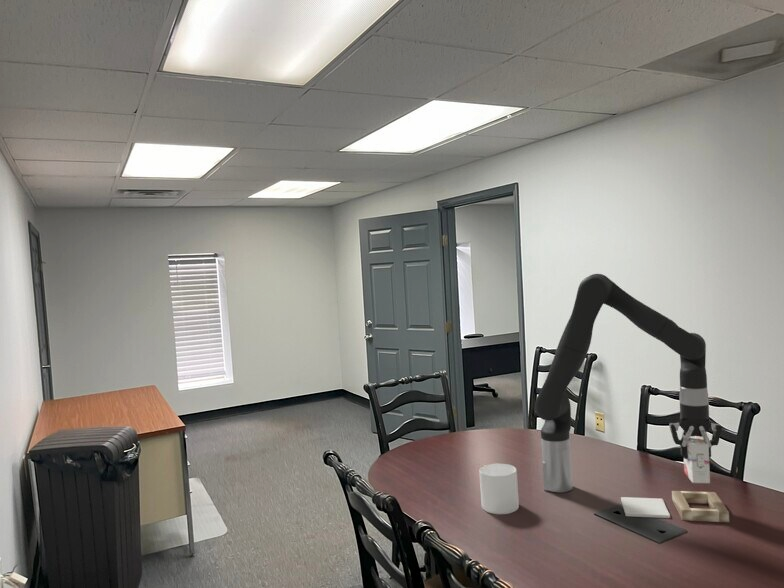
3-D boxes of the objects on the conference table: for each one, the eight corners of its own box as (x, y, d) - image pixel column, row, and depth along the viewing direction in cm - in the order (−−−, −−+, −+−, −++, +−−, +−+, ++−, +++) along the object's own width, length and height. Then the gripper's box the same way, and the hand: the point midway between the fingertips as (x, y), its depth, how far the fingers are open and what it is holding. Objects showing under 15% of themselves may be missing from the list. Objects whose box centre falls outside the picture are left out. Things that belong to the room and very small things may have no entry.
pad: (625, 516, 167) (625, 513, 167) (621, 499, 179) (620, 497, 179) (670, 518, 164) (670, 515, 164) (662, 501, 175) (662, 498, 175)
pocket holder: (682, 520, 162) (681, 509, 162) (672, 500, 176) (671, 490, 175) (729, 522, 159) (728, 511, 159) (715, 501, 172) (714, 492, 172)
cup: (520, 500, 184) (518, 464, 183) (516, 515, 173) (514, 477, 172) (485, 498, 188) (482, 462, 187) (478, 513, 177) (476, 475, 176)
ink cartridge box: (683, 472, 172) (681, 424, 171) (700, 472, 171) (699, 424, 170) (692, 483, 163) (690, 433, 163) (710, 483, 162) (709, 433, 162)
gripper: (669, 404, 164) (672, 462, 165) (725, 405, 160) (727, 463, 161) (664, 398, 171) (666, 453, 172) (717, 398, 168) (719, 454, 168)
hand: (696, 458), depth 167 cm, fingers closed on ink cartridge box, 5 cm apart
